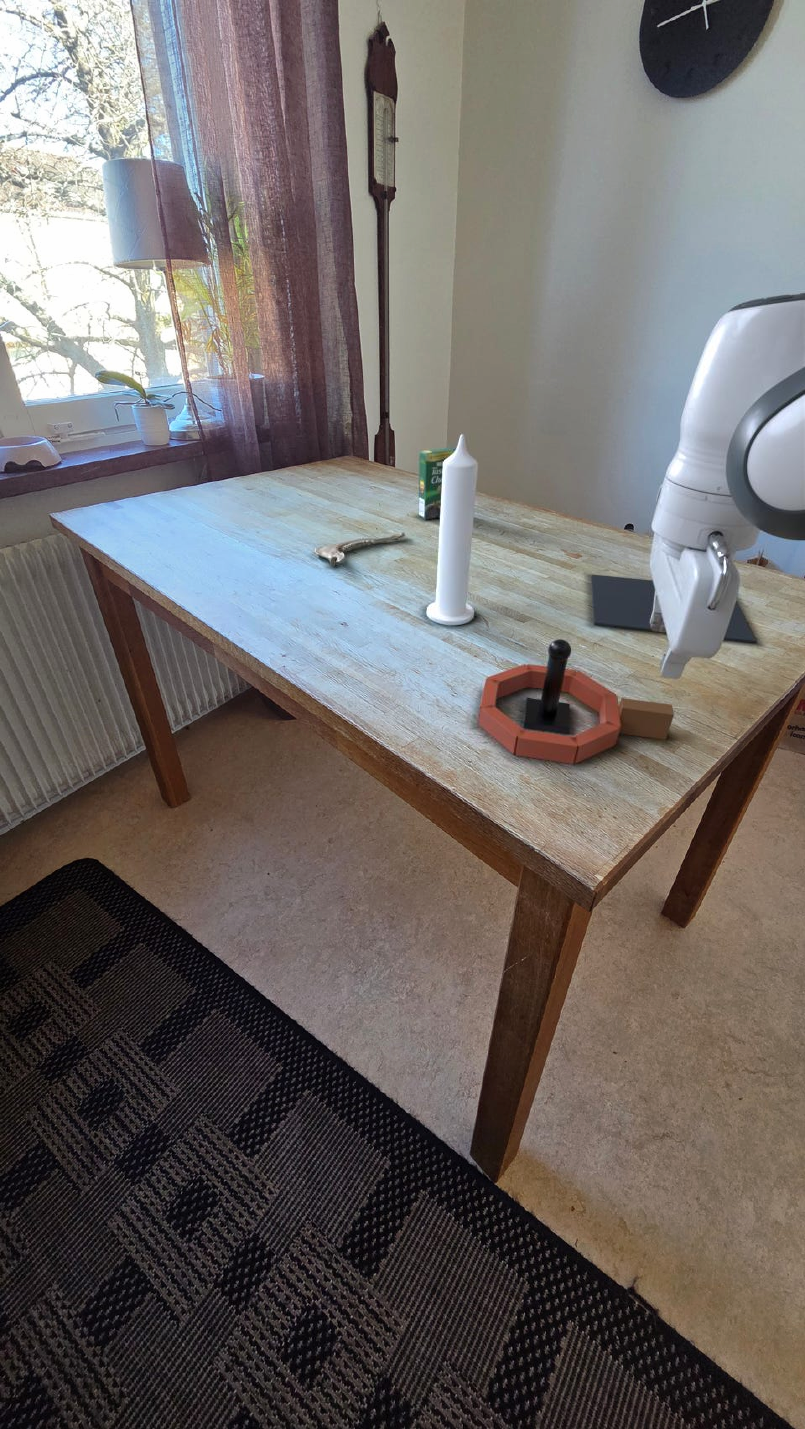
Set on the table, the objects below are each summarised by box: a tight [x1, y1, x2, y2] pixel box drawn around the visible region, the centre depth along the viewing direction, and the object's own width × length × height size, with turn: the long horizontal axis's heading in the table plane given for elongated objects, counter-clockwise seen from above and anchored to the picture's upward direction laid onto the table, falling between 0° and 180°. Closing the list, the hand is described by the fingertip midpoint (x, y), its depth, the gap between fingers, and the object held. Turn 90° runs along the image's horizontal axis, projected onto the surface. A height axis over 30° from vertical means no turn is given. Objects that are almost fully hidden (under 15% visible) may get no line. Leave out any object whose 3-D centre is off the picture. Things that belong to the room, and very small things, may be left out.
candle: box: [426, 433, 479, 626], centre depth 83 cm, size 7×7×25 cm
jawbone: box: [313, 532, 406, 568], centre depth 110 cm, size 9×20×2 cm, turn 147°
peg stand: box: [522, 638, 572, 735], centre depth 66 cm, size 5×5×10 cm
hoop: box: [477, 663, 675, 765], centre depth 68 cm, size 21×15×4 cm
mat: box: [590, 574, 757, 644], centre depth 93 cm, size 22×18×1 cm
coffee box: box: [417, 446, 457, 521], centre depth 123 cm, size 8×3×13 cm, turn 118°
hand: (663, 650), depth 62 cm, fingers open, 8 cm apart
